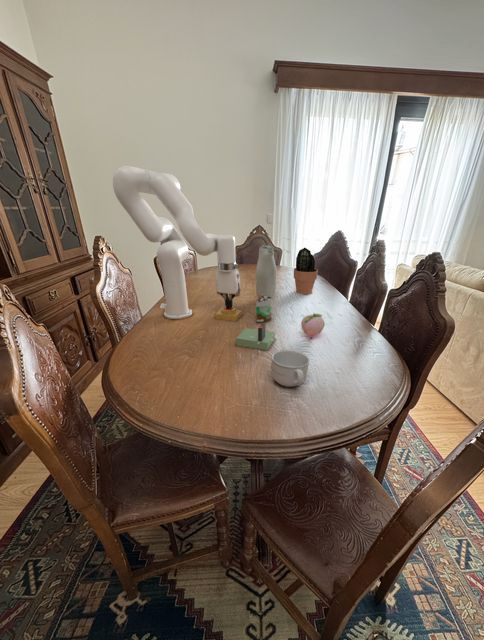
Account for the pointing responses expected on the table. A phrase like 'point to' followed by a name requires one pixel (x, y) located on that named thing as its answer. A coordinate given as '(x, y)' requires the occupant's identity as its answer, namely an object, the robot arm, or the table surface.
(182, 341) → the table surface
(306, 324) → the decorative fruit
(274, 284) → the glass bottle
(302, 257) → the potted plant
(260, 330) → the black rectangular slab
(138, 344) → the table surface
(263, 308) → the food container
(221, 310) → the button block
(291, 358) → the teacup
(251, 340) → the panel
